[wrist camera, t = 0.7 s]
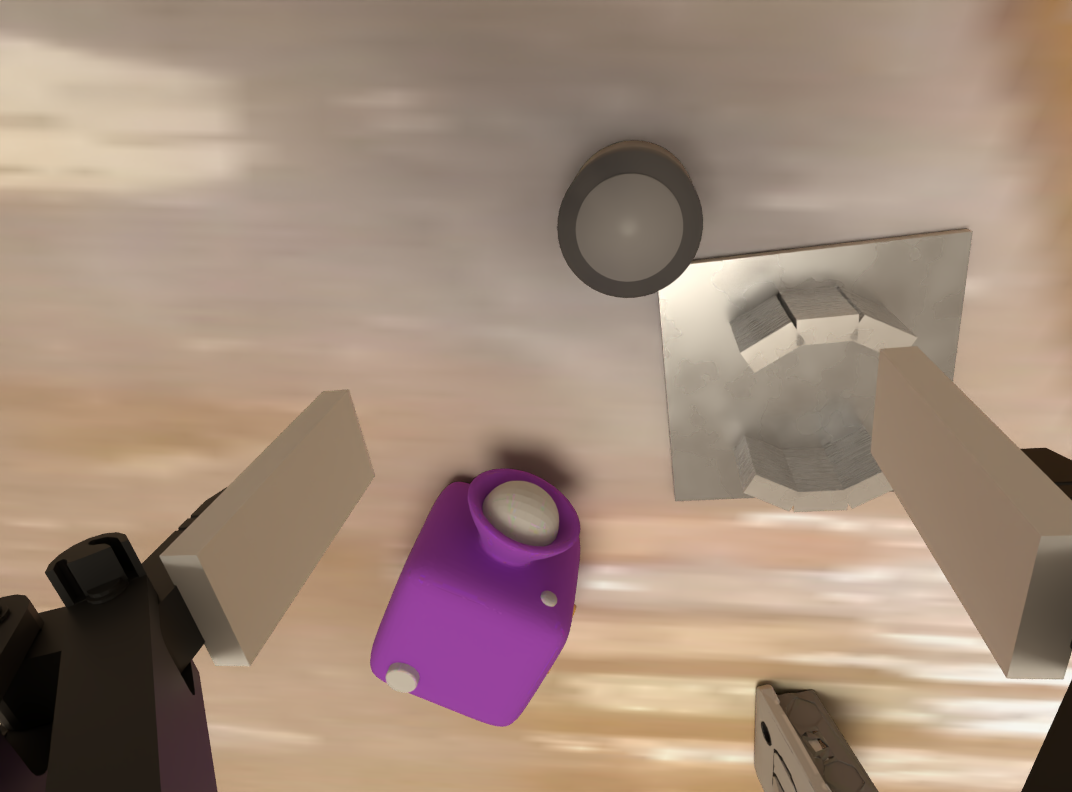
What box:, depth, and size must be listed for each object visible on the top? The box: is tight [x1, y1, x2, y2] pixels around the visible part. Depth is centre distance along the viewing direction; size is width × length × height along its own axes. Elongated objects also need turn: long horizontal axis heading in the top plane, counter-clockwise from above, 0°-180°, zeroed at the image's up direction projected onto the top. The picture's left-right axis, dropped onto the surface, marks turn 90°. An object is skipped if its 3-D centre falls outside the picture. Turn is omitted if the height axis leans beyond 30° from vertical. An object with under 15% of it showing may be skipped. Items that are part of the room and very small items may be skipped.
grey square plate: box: [658, 229, 973, 512], centre depth 32 cm, size 14×14×5 cm
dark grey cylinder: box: [557, 140, 703, 298], centre depth 29 cm, size 6×6×5 cm
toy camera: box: [370, 469, 580, 727], centre depth 37 cm, size 11×14×10 cm
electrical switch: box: [754, 684, 878, 792], centre depth 41 cm, size 9×5×9 cm, turn 7°
